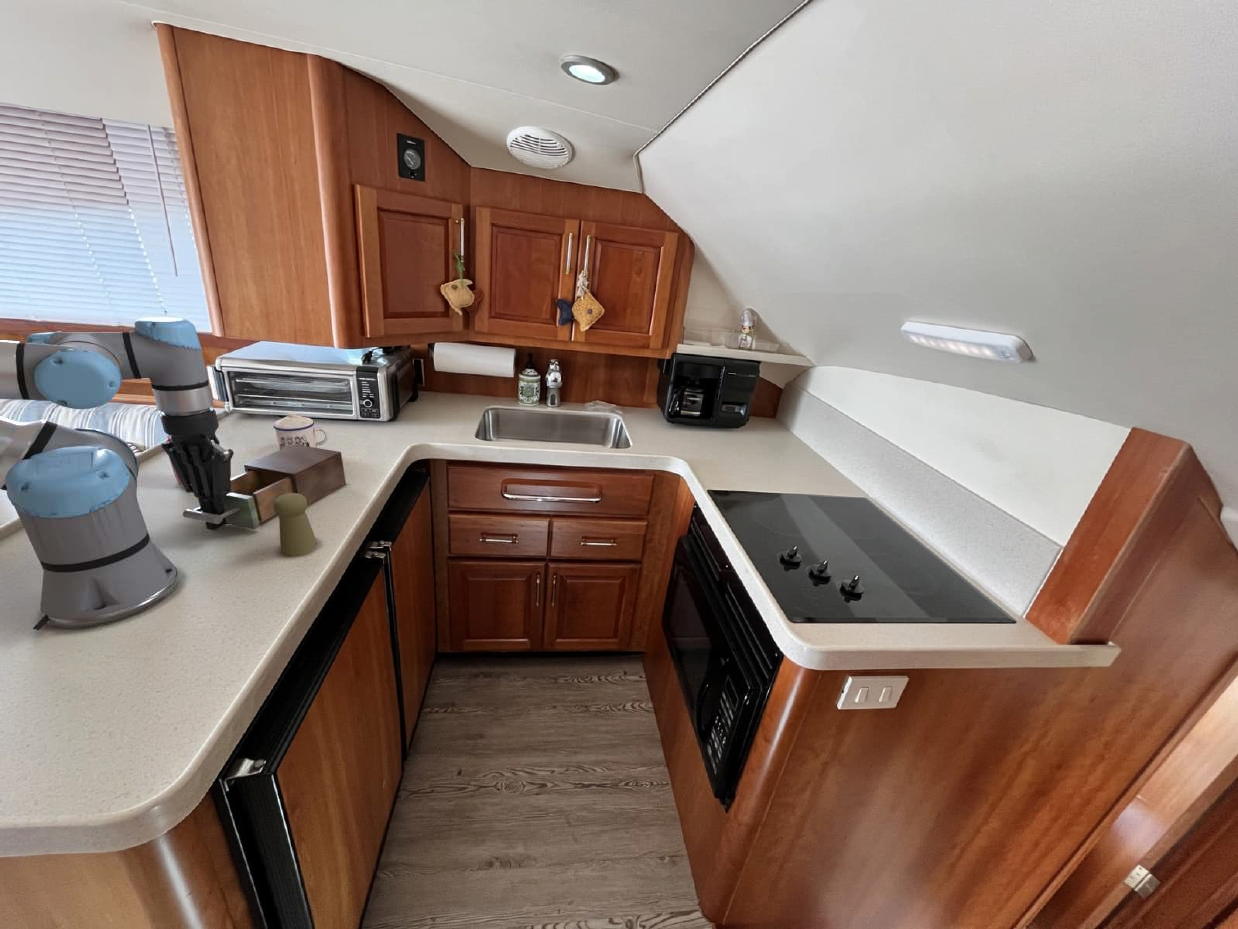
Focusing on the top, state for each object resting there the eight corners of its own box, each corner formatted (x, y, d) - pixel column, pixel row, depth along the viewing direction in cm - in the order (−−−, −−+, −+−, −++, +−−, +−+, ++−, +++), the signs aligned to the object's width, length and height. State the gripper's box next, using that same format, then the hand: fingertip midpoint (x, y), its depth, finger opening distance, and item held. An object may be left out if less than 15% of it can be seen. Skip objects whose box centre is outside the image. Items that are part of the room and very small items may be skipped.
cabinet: (301, 509, 106) (294, 473, 103) (252, 500, 108) (243, 464, 105) (346, 484, 119) (341, 451, 115) (301, 476, 121) (294, 444, 117)
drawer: (229, 543, 91) (221, 511, 89) (179, 532, 93) (169, 501, 91) (304, 502, 108) (299, 474, 105) (260, 493, 109) (254, 466, 107)
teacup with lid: (275, 461, 127) (266, 419, 123) (283, 449, 135) (275, 408, 130) (328, 458, 132) (321, 417, 127) (333, 446, 139) (326, 407, 135)
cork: (300, 559, 90) (289, 506, 86) (272, 553, 91) (260, 500, 87) (325, 542, 96) (315, 492, 91) (298, 537, 97) (288, 487, 92)
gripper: (238, 409, 88) (263, 523, 97) (178, 399, 90) (207, 512, 99) (197, 420, 82) (228, 542, 90) (133, 409, 83) (169, 529, 92)
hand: (217, 526), depth 95 cm, fingers closed
